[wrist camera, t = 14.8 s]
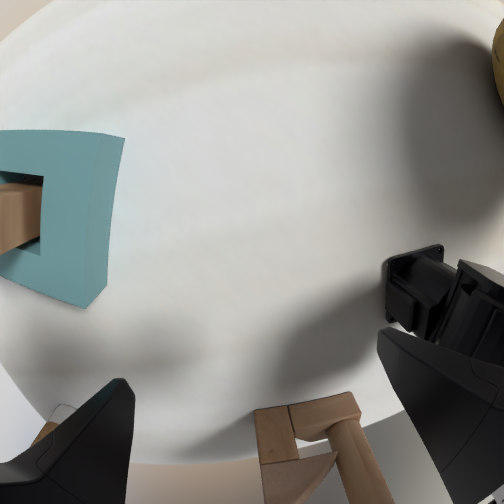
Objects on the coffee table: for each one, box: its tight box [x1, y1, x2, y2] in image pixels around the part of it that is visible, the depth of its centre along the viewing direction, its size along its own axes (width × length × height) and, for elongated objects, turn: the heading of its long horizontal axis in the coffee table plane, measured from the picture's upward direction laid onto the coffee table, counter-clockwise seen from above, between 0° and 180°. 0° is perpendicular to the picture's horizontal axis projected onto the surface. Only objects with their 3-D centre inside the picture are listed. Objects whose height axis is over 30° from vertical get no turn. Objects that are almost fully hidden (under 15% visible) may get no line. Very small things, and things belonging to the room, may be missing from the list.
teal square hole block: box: [0, 130, 125, 309], centre depth 15 cm, size 14×12×4 cm
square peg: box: [0, 179, 43, 255], centre depth 12 cm, size 4×4×10 cm
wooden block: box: [254, 392, 395, 504], centre depth 17 cm, size 4×11×18 cm, turn 96°
